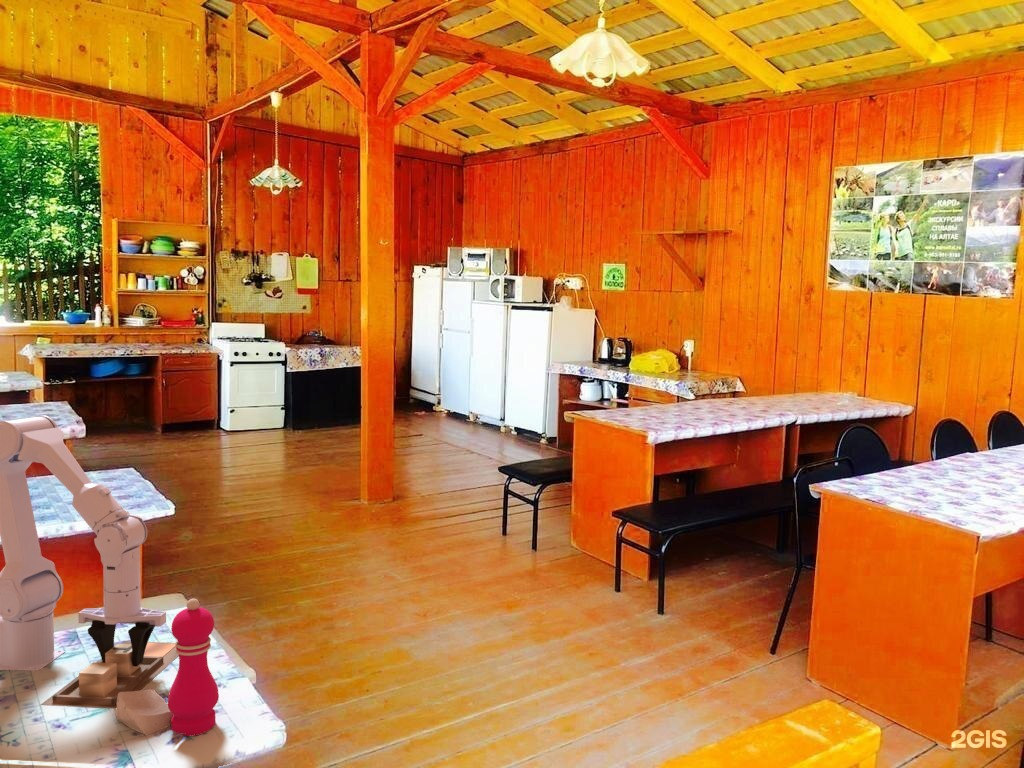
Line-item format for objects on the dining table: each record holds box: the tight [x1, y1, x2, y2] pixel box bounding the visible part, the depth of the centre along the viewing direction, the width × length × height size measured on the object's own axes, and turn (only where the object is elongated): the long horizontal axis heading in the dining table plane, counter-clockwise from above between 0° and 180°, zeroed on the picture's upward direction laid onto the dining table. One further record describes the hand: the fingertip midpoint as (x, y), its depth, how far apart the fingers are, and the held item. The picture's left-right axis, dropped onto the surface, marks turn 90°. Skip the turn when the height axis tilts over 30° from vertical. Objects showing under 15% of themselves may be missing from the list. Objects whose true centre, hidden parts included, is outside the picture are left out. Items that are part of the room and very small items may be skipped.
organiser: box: [40, 640, 179, 709], centre depth 135 cm, size 13×25×2 cm, turn 178°
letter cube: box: [105, 643, 140, 675], centre depth 135 cm, size 4×4×4 cm
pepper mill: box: [167, 598, 220, 737], centre depth 118 cm, size 7×7×20 cm
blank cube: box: [78, 661, 117, 697], centre depth 127 cm, size 4×4×4 cm
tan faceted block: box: [115, 689, 174, 735], centre depth 119 cm, size 10×6×6 cm, turn 40°
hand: (123, 663), depth 135 cm, fingers open, 5 cm apart
